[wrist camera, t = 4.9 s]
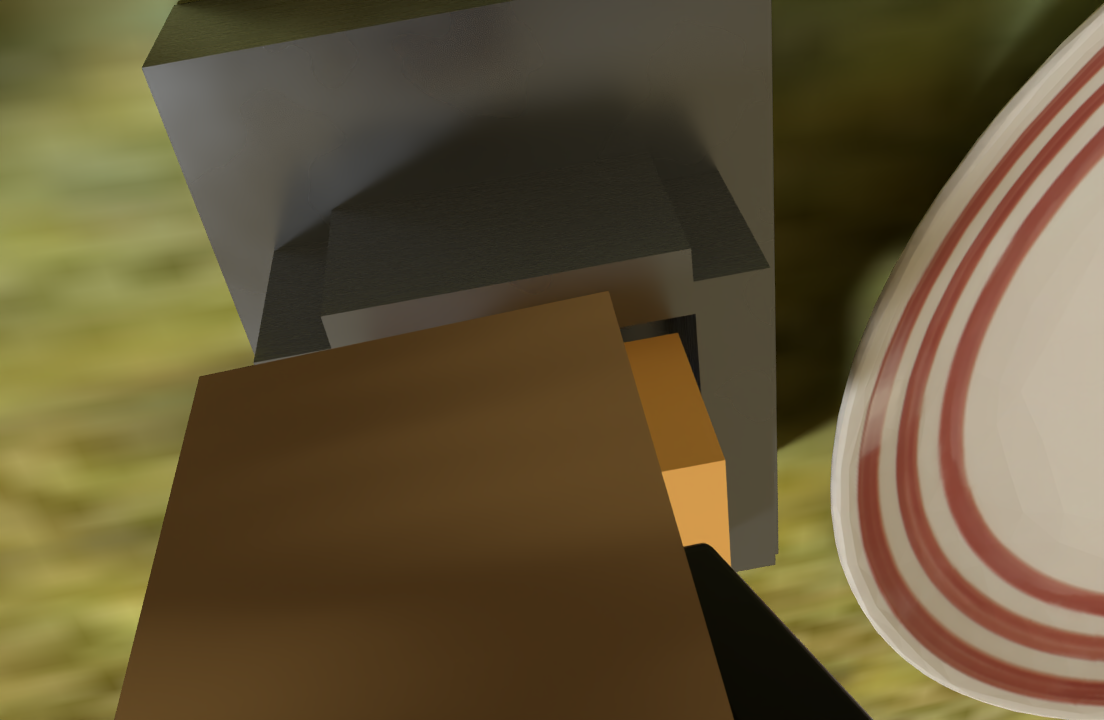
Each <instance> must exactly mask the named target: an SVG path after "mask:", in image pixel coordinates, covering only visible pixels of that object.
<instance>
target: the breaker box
mask: <svg viewBox="0 0 1104 720" xmlns="http://www.w3.org/2000/svg"><path fill="white" fill-rule="evenodd" d="M142 70H143V73H144V75H145V78H146V80H147V83H148V85H149V88H150V90H151V93H152V96H153V98H154V101H155V103H156V106H157V108H158V111H159V113H160V116H161V118H162V121H163V123H164V126H165V129H166V131H167V134H168V136H169V139H170V141H171V144H172V146H173V149H174V151H175V154H176V156H177V159H178V161H179V164H180V167H181V169H182V172H183V174H184V177H185V179H186V182H187V184H188V187H189V189H190V192H191V194H192V197H193V200H194V202H195V205H196V207H197V210H198V212H199V215H200V217H201V220H202V222H203V225H204V227H205V230H206V233H207V235H208V238H209V240H210V243H211V245H212V248H213V250H214V253H215V255H216V258H217V260H218V263H219V266H220V268H221V271H222V273H223V276H224V278H225V281H226V283H227V286H228V288H229V291H230V293H231V296H232V299H233V301H234V304H235V306H236V309H237V311H238V314H239V316H240V319H241V321H242V324H243V326H244V329H245V332H246V334H247V337H248V339H249V342H250V344H251V347H252V349H253V352H254V354H255V358H254V365H257V364H262V363H267V362H271V361H276V360H281V359H286V358H290V357H295V356H300V355H305V354H309V353H314V352H319V351H324V350H329V349H333V348H338V347H343V346H348V345H352V344H357V343H362V342H367V341H371V340H376V339H381V338H386V337H391V336H395V335H400V334H405V333H410V332H414V331H419V330H424V329H429V328H433V327H438V326H443V325H448V324H452V323H457V322H462V321H467V320H472V319H476V318H481V317H486V316H491V315H495V314H500V313H505V312H510V311H514V310H519V309H524V308H529V307H534V306H538V305H543V304H548V303H553V302H557V301H562V300H567V299H572V298H576V297H581V296H586V295H591V294H596V293H600V292H605V291H609V294H610V297H611V301H612V304H613V308H614V311H615V315H616V318H617V321H618V325H619V328H620V332H621V335H622V338H623V342H630V341H635V340H641V339H646V338H652V337H657V336H662V335H668V334H673V333H678V334H679V337H680V339H681V342H682V345H683V347H684V350H685V353H686V356H687V358H688V361H689V364H690V366H691V369H692V372H693V374H694V377H695V380H696V383H697V385H698V388H699V391H700V393H701V396H702V399H703V401H704V404H705V407H706V409H707V412H708V415H709V418H710V420H711V423H712V426H713V428H714V431H715V434H716V436H717V439H718V442H719V444H720V447H721V450H722V453H723V455H724V458H725V464H726V482H727V501H728V519H729V538H730V557H731V567H732V568H733V569H734V571H735V572H738V571H743V570H748V569H754V568H759V567H764V566H770V565H775V554H778V491H777V412H776V333H775V254H774V176H773V97H772V18H771V0H201V1H195V2H190V3H184V4H179V5H174V6H173V8H172V10H171V12H170V14H169V16H168V18H167V20H166V22H165V24H164V26H163V28H162V30H161V31H160V33H159V35H158V37H157V39H156V41H155V43H154V45H153V47H152V49H151V51H150V53H149V55H148V57H147V59H146V60H145V62H144V64H143V66H142Z"/></svg>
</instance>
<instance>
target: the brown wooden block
mask: <svg viewBox="0 0 1104 720" xmlns="http://www.w3.org/2000/svg"><path fill="white" fill-rule="evenodd" d="M114 720H734V718H733V715H732V711H731V708H730V704H729V701H728V698H727V694H726V691H725V687H724V684H723V680H722V677H721V674H720V670H719V667H718V663H717V660H716V657H715V653H714V650H713V646H712V643H711V639H710V636H709V633H708V629H707V626H706V622H705V619H704V615H703V612H702V609H701V605H700V602H699V598H698V595H697V592H696V588H695V585H694V581H693V578H692V574H691V571H690V568H689V564H688V561H687V557H686V554H685V550H684V547H683V544H682V540H681V537H680V533H679V530H678V527H677V523H676V520H675V516H674V513H673V509H672V506H671V503H670V499H669V496H668V492H667V489H666V486H665V482H664V479H663V475H662V472H661V468H660V465H659V462H658V458H657V455H656V451H655V448H654V444H653V441H652V438H651V434H650V431H649V427H648V424H647V421H646V417H645V414H644V410H643V407H642V403H641V400H640V397H639V393H638V390H637V386H636V383H635V380H634V376H633V373H632V369H631V366H630V362H629V359H628V356H627V352H626V349H625V345H624V342H623V338H622V335H621V332H620V328H619V325H618V321H617V318H616V315H615V311H614V308H613V304H612V301H611V297H610V294H609V291H605V292H600V293H596V294H591V295H586V296H581V297H576V298H572V299H567V300H562V301H557V302H553V303H548V304H543V305H538V306H534V307H529V308H524V309H519V310H514V311H510V312H505V313H500V314H495V315H491V316H486V317H481V318H476V319H472V320H467V321H462V322H457V323H452V324H448V325H443V326H438V327H433V328H429V329H424V330H419V331H414V332H410V333H405V334H400V335H395V336H391V337H386V338H381V339H376V340H371V341H367V342H362V343H357V344H352V345H348V346H343V347H338V348H333V349H329V350H324V351H319V352H314V353H309V354H305V355H300V356H295V357H290V358H286V359H281V360H276V361H271V362H267V363H262V364H257V365H252V366H248V367H243V368H238V369H233V370H228V371H224V372H219V373H214V374H209V375H205V376H200V377H199V380H198V384H197V388H196V393H195V397H194V401H193V405H192V409H191V413H190V417H189V421H188V425H187V429H186V433H185V437H184V441H183V445H182V449H181V453H180V457H179V461H178V465H177V469H176V473H175V477H174V481H173V485H172V489H171V493H170V497H169V501H168V505H167V509H166V513H165V517H164V521H163V525H162V530H161V534H160V538H159V542H158V546H157V550H156V554H155V558H154V562H153V566H152V570H151V574H150V578H149V582H148V586H147V590H146V594H145V598H144V602H143V606H142V610H141V614H140V618H139V622H138V626H137V630H136V634H135V638H134V642H133V646H132V650H131V654H130V658H129V662H128V667H127V671H126V675H125V679H124V683H123V687H122V691H121V695H120V699H119V703H118V707H117V711H116V715H115V719H114Z"/></svg>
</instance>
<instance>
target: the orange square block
mask: <svg viewBox="0 0 1104 720" xmlns="http://www.w3.org/2000/svg"><path fill="white" fill-rule="evenodd" d="M624 345H625V349H626V352H627V356H628V359H629V362H630V366H631V369H632V373H633V376H634V380H635V383H636V386H637V390H638V393H639V397H640V400H641V403H642V407H643V410H644V414H645V417H646V421H647V424H648V427H649V431H650V434H651V438H652V441H653V444H654V448H655V451H656V455H657V458H658V462H659V465H660V468H661V472H662V475H663V479H664V482H665V486H666V489H667V492H668V496H669V499H670V503H671V506H672V509H673V513H674V516H675V520H676V523H677V527H678V530H679V533H680V537H681V540H682V544H683V546H688V545H693V544H698V543H706V544H709V545H710V546H711V547H713V548H714V549H715V550H716V551H717V552H718V553H719V554H720V556H721V557H722V558H723V559H724V560H725V561H726V562H727V563H728V564H729V565H730V566H731V557H730V538H729V519H728V501H727V482H726V464H725V458H724V455H723V453H722V450H721V447H720V444H719V442H718V439H717V436H716V434H715V431H714V428H713V426H712V423H711V420H710V418H709V415H708V412H707V409H706V407H705V404H704V401H703V399H702V396H701V393H700V391H699V388H698V385H697V383H696V380H695V377H694V374H693V372H692V369H691V366H690V364H689V361H688V358H687V356H686V353H685V350H684V347H683V345H682V342H681V339H680V337H679V334H678V333H673V334H668V335H662V336H657V337H652V338H646V339H641V340H635V341H630V342H624Z"/></svg>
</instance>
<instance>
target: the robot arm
mask: <svg viewBox="0 0 1104 720" xmlns="http://www.w3.org/2000/svg"><path fill="white" fill-rule="evenodd" d="M683 547H684V550H685V554H686V557H687V561H688V564H689V568H690V571H691V574H692V578H693V581H694V585H695V588H696V592H697V595H698V598H699V602H700V605H701V609H702V612H703V615H704V619H705V622H706V626H707V629H708V633H709V636H710V639H711V643H712V646H713V650H714V653H715V657H716V660H717V663H718V667H719V670H720V674H721V677H722V680H723V684H724V687H725V691H726V694H727V698H728V701H729V704H730V708H731V711H732V715H733V718H734V720H873V719H872V718H871V717H870V716H869V714H868V713H867V712H866V711H865V710H864V709H863V708H862V707H861V706H860V705H859V704H858V703H857V702H856V701H855V699H854V698H853V697H852V696H851V695H850V694H849V693H848V692H847V691H846V690H845V689H844V688H843V687H842V685H841V684H840V683H839V682H838V681H837V680H836V679H835V678H834V677H833V676H832V675H831V674H830V673H829V672H828V670H827V669H826V668H825V667H824V666H823V665H822V664H821V663H820V662H819V661H818V660H817V659H816V658H815V656H814V655H813V654H812V653H811V652H810V651H809V650H808V649H807V648H806V647H805V646H804V645H803V644H802V643H801V641H800V640H799V639H798V638H797V637H796V636H795V635H794V634H793V633H792V632H791V631H790V630H789V629H788V627H787V626H786V625H785V624H784V623H783V622H782V621H781V620H780V619H779V618H778V617H777V616H776V615H775V614H774V612H773V611H772V610H771V609H770V608H769V607H768V606H767V605H766V604H765V603H764V602H763V601H762V600H761V598H760V597H759V596H758V595H757V594H756V593H755V592H754V591H753V590H752V589H751V588H750V587H749V586H748V585H747V583H746V582H745V581H744V580H743V579H742V578H741V577H740V576H739V575H738V574H737V573H736V572H735V571H734V569H733V568H732V567H731V566H730V565H729V564H728V563H727V562H726V561H725V560H724V559H723V558H722V557H721V556H720V554H719V553H718V552H717V551H716V550H715V549H714V548H713V547H711V546H710V545H709V544H706V543H698V544H693V545H688V546H683Z"/></svg>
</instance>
